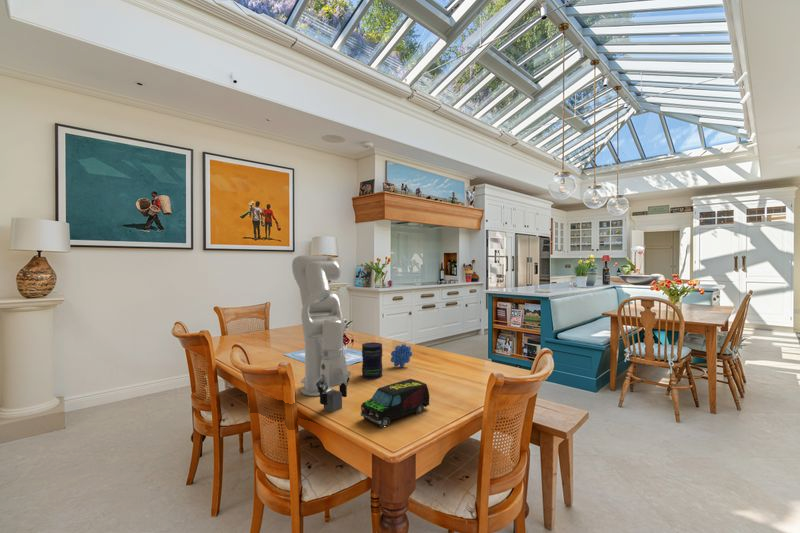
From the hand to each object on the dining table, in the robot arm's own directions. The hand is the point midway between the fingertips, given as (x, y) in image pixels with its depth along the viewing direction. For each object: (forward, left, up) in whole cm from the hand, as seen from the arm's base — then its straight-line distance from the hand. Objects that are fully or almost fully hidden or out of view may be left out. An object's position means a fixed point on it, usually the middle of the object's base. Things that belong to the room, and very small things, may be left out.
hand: (333, 400), depth 130 cm
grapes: (-12, +59, -4) cm, 61 cm away
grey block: (-1, 0, -4) cm, 4 cm away
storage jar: (-14, +38, -4) cm, 41 cm away
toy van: (+21, +10, -4) cm, 24 cm away
